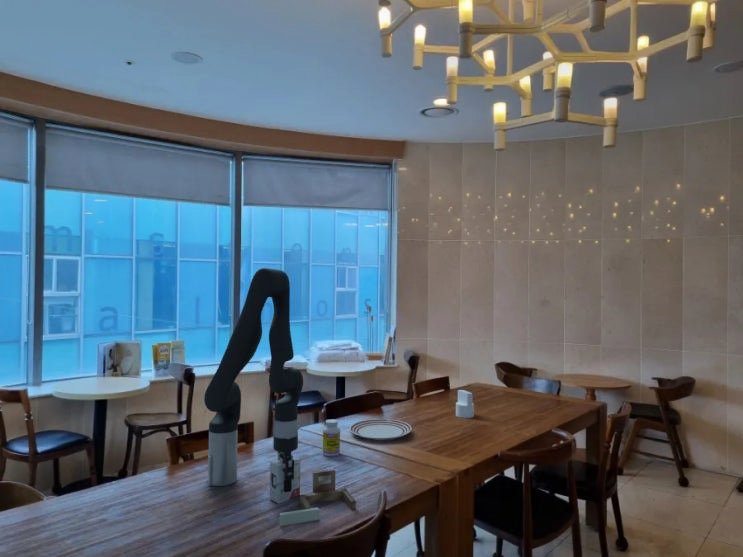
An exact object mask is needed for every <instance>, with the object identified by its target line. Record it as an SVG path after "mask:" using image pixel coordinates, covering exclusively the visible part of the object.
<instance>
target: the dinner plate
mask: <svg viewBox="0 0 743 557" xmlns="http://www.w3.org/2000/svg"><path fill="white" fill-rule="evenodd" d="M349 432H351V433H352V434H353V435H355V436H358V437H360V438H364V439H366V438H367V440H371V439H373V440H372V441H390V440H389V439H392V440H395V438H396V439H399V438H402V437H404V436H407V435H408V434H409V433H410V432H412V425H411V424H409V423H407V422H405V421H402V420H397V419H392V418H391V419H388V418H372V419H371V418H369V419H365V420H360V421H356V422H355V423H353V424H351V425H350V427H349Z"/></svg>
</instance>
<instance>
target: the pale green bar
mask: <svg viewBox="0 0 743 557" xmlns="http://www.w3.org/2000/svg"><path fill="white" fill-rule="evenodd" d="M319 520H320V508H319V507H311V509H304V510H302V509H299V510H292V511H286V512H280V513H279V523H278V524H279V527H283V526H288V525H289V526H290V525H296V524H302V523H306V522H313V521H315V522H316V521H319Z"/></svg>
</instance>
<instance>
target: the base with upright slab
mask: <svg viewBox="0 0 743 557" xmlns="http://www.w3.org/2000/svg"><path fill="white" fill-rule="evenodd" d="M455 416H456V417H458V418H462V417H463V419H470V418H471V419H472V418H474V416H475V403H473V393H472V392H470V391H467V390H464V389H458V390H457V401H456V402H455Z"/></svg>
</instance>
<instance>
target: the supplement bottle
mask: <svg viewBox="0 0 743 557" xmlns="http://www.w3.org/2000/svg"><path fill="white" fill-rule="evenodd" d="M338 423H339V420H337V419H333V418H332V419H326V420H325V427H324V428H323V430H322V454H323V455H324V456H325V457H326V456H327V457H336V456H338V455H340V452H341V450H340V448H341V428H340V427H339V426H338Z"/></svg>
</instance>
